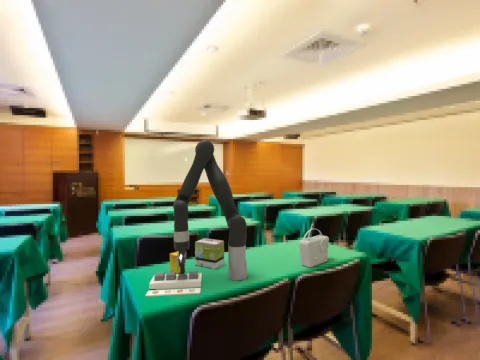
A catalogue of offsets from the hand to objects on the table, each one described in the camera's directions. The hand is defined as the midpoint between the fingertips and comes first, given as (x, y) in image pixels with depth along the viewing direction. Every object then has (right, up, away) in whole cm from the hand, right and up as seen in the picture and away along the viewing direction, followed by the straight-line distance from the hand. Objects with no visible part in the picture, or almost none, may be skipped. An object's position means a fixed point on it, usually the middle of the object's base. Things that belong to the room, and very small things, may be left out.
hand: (182, 273), depth 138 cm
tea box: (+11, -5, +28) cm, 30 cm away
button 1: (+5, -3, +1) cm, 6 cm away
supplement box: (-6, -5, +16) cm, 18 cm away
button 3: (-6, -3, 0) cm, 6 cm away
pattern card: (-2, -6, -10) cm, 12 cm away
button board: (-3, -5, 0) cm, 6 cm away
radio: (+74, -3, +27) cm, 79 cm away
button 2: (0, -4, 0) cm, 4 cm away
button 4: (-11, -3, -1) cm, 12 cm away
